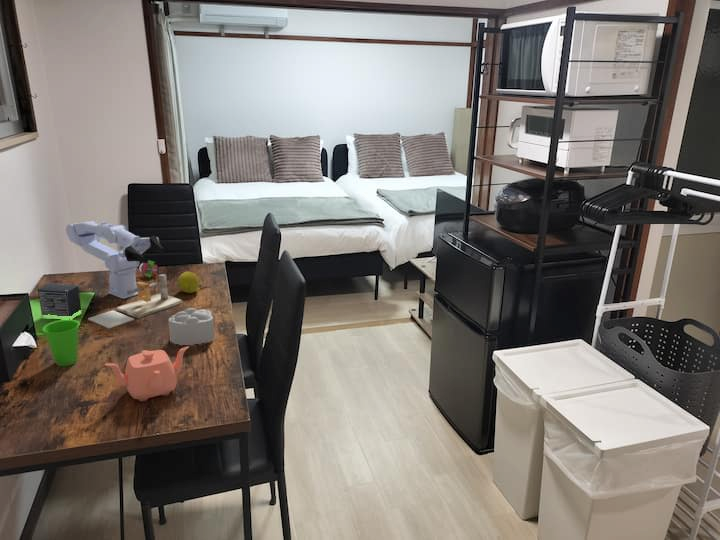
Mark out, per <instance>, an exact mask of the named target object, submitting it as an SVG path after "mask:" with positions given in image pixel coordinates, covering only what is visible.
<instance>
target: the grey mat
mask: <svg viewBox="0 0 720 540" xmlns="http://www.w3.org/2000/svg"><path fill="white" fill-rule="evenodd" d="M87 320H88V321H91V322H92V323H95V324H98V325H99V326H102V327H104V328H106V329H112V328H115V327H117V326H121V325H123V324H127V323H130V322H132V321H135V317H130V315H125V313H124V314H123V313H121V312H120V311H116V310H114V309H112V310H110V311H105V312H103V313H100V314H97V315H94V316H91V317H88V318H87Z"/></svg>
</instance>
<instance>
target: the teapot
mask: <svg viewBox="0 0 720 540" xmlns="http://www.w3.org/2000/svg"><path fill="white" fill-rule="evenodd" d="M189 348H190V346H184V347H182V348H180V349H179V350H178V352H177V355H176V359H175V361H174V362H172V361H171V359H170V357H169V355H168V354H167V352H166V351H165V350H164V349H157V350H146V349H145V350H142V351H141V352H140V353H136V354H133V355H130V356H129V357H128V359H127V361H126V362H127V363H126V366H125V370H124V373H123V372H122V371H121V370H120V367H119V365H118V364H116V363H112V362H109V363H108V362H107V363H104V366H106V367H109V368H110V369H112V370H113V373H114V375H115V379H116V380H117V382H118V384H119V385H121V386H122V387H125V388H126V390H127V392H128V394H129V395H130V396H131V398H132V399H134V400H138V401H139V402H146V401H148V400H149V398H155V397H158V396H162V397H163V396H164V397H165V396H168V395H170V394H171V392H172V391H174V390H175V389H176V386H177V384H178V378H177V375H178V374H179V373H180V372H181V370H182V368H183V360H184V359H183V358H184V357H183V356H184V353H185V352H186V350H188V349H189Z"/></svg>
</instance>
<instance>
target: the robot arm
mask: <svg viewBox="0 0 720 540" xmlns="http://www.w3.org/2000/svg"><path fill="white" fill-rule="evenodd" d="M65 233H66V236H67V238H68V240H69V241H70V242H71V243H74V244H76V245H77V246H78V247H80V248H81V249H82V250H83V251H84V252H85V253H87V254H89V255H91V256H93V257H95V258H98V259H99V260H101V261H104V265H105V268H106V269H108V271H110V273H109V279H108V280H109V286H110V291H108V295H112V296H114V297H117V298H120V299H127V298H131V297H134V296H138V292H135V293H132V294H127V291H129V290H133V289H136V288H137V280H136V279H137V278H136V271H137V268H138V267H140V263H145V262H146V259H145V256H144V255H143V253H145V252H146V251H147V250H148V249H150V248H151V249H152V252H156V253H157V252H158V253H160V254H165V249H164V247H163V246H162V245H161V243H160V239H159V237H158V236H156V235H152V236H150V237H141V236H139V235H135V234H134V233H132V232H130V231H129V230H128V229H127V227H126V226H125V225H124V224H123V223H122V224H118V225H115V224H114V223H107V221H102V222H100V223H96V222H95V221H94V220H88V221H83V222H77V223H69V224H67V225H66V227H65ZM101 239H104V240H106V241H107V243H108V244H113V243H114V244H118V245H119V246H120V247H122V249H121V250H119V251H118V250H117V249H115V248H112V247H109V245H108V246H107V245H105V244H103V243H101V242H100V241H101Z"/></svg>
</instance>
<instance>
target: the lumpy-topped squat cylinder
mask: <svg viewBox="0 0 720 540" xmlns="http://www.w3.org/2000/svg"><path fill="white" fill-rule="evenodd" d="M212 314H213V313H212V311H211V310H208V309H204V308H203V309H202V308H201V309H196V308H194V307H188V308H186V309H184V310H183V311H179V312H176V313H175V314H174V315H171V316H170V317H169V318H168V320H167V321H168V331H169V342H170V343H171V342H172V343H171V344H173V343H174V345H176V344H179V345H178V346H183V345H190V346H195V345H194V344H199V343H205V342H208V341H211V340H213V339H214V338H215V324H214V323H215V322H214V317H213V315H212ZM214 340H215V339H214ZM214 340H213V341H214ZM205 344H206V343H205ZM199 345H200V344H199Z"/></svg>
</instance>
